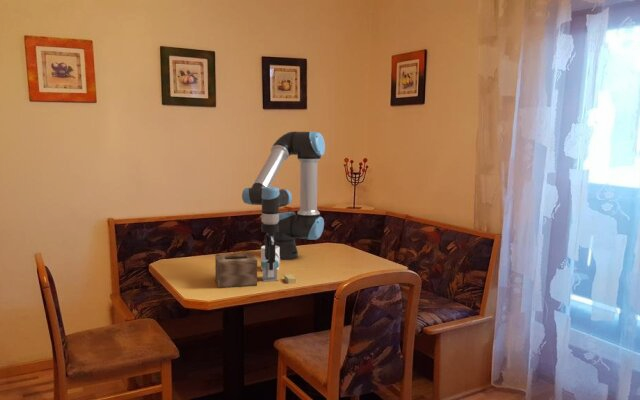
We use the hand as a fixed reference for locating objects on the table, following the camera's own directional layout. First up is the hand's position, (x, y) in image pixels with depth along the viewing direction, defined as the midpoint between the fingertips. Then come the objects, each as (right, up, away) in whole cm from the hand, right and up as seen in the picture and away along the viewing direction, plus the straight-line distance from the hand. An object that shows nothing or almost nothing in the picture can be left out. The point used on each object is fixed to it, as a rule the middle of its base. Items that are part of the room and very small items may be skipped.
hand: (269, 275), depth 226 cm
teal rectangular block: (0, +4, 0) cm, 4 cm away
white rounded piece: (0, 0, +16) cm, 16 cm away
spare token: (+9, -2, -2) cm, 10 cm away
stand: (0, -2, 0) cm, 2 cm away
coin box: (-14, -2, -6) cm, 15 cm away
